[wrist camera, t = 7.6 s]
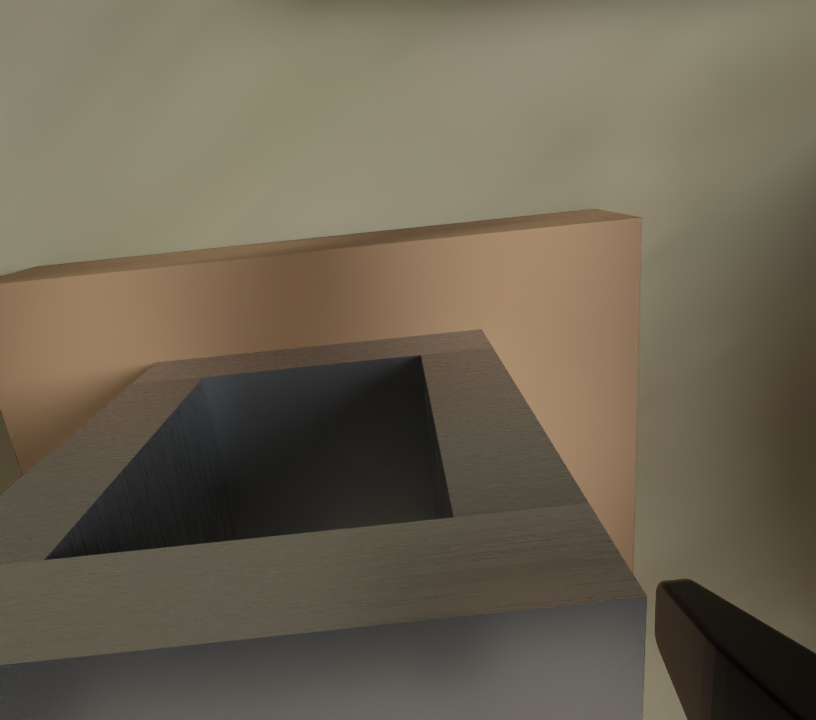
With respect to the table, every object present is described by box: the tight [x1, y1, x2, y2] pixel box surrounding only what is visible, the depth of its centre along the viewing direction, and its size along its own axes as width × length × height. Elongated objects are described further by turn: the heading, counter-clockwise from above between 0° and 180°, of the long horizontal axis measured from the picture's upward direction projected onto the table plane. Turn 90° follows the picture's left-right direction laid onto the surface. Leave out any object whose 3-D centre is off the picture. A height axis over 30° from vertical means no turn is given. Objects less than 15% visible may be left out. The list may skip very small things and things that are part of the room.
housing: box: [0, 329, 647, 720], centre depth 7 cm, size 5×7×6 cm
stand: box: [0, 209, 642, 573], centre depth 11 cm, size 10×10×2 cm
